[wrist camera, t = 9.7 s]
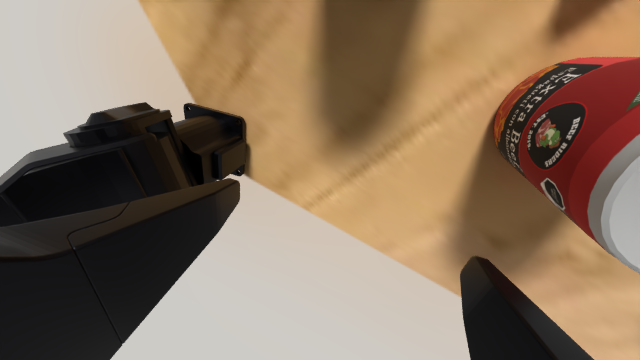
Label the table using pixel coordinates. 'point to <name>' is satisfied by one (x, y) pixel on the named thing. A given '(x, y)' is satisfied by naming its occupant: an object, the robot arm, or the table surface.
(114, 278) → the robot arm
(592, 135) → the canned food
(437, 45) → the table surface
